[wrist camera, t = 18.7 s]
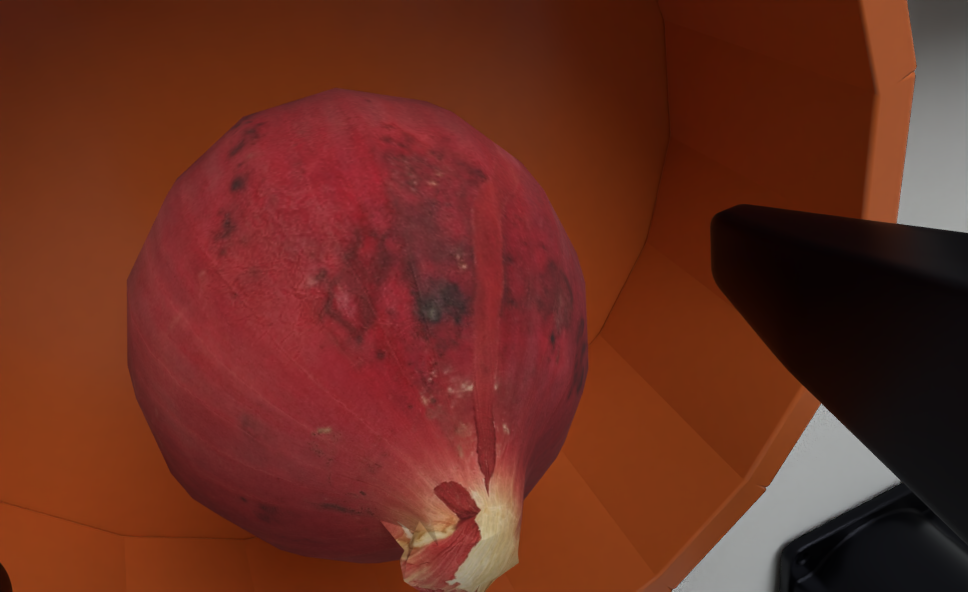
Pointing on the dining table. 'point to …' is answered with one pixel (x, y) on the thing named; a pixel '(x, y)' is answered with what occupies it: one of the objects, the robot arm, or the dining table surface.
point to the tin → (522, 133)
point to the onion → (361, 335)
